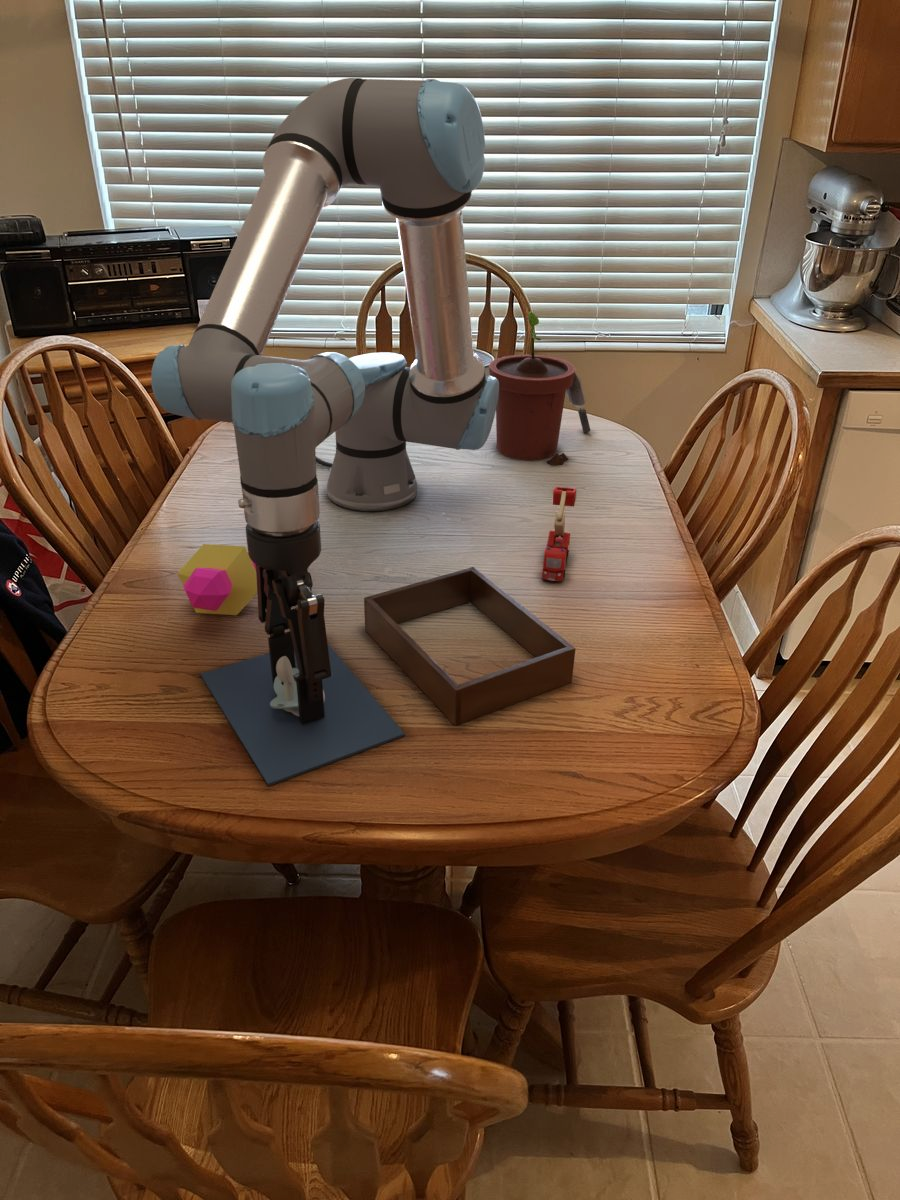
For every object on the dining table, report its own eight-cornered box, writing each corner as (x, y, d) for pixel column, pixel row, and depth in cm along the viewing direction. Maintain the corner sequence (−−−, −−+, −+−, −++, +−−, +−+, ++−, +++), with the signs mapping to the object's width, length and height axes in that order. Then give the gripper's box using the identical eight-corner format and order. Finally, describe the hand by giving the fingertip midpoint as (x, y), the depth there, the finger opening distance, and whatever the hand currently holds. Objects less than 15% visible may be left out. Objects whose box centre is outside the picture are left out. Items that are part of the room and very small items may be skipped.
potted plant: (482, 430, 180) (487, 303, 167) (589, 431, 181) (602, 304, 168) (488, 465, 165) (494, 327, 152) (605, 465, 166) (621, 328, 153)
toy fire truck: (540, 582, 129) (545, 522, 124) (550, 539, 140) (555, 482, 135) (563, 585, 128) (569, 524, 123) (571, 541, 140) (577, 484, 135)
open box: (364, 630, 117) (363, 597, 115) (471, 597, 125) (473, 566, 122) (454, 726, 101) (456, 690, 98) (572, 682, 108) (575, 648, 106)
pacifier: (327, 684, 107) (276, 684, 106) (325, 640, 103) (273, 640, 103) (322, 723, 100) (268, 723, 100) (321, 678, 97) (265, 677, 97)
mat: (200, 676, 108) (200, 673, 108) (322, 639, 115) (322, 637, 115) (268, 786, 92) (267, 783, 92) (404, 736, 99) (404, 733, 99)
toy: (288, 585, 128) (258, 518, 126) (252, 619, 111) (216, 542, 109) (225, 609, 130) (195, 543, 128) (180, 646, 113) (144, 571, 111)
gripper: (214, 492, 97) (236, 664, 109) (286, 572, 82) (302, 762, 94) (279, 478, 101) (294, 647, 112) (359, 553, 86) (366, 738, 98)
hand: (298, 699), depth 103 cm, fingers closed on pacifier, 7 cm apart
